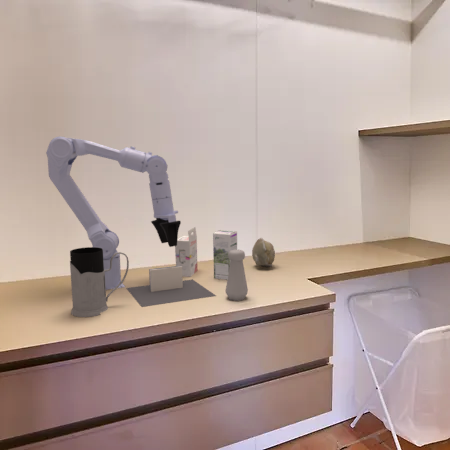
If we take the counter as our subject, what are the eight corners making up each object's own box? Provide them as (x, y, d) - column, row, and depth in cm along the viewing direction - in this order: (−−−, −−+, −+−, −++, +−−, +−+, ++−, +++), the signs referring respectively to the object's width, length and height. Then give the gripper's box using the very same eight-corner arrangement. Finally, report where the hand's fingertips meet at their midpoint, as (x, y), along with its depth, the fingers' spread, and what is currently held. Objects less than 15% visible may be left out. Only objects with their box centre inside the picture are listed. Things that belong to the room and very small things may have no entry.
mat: (141, 308, 110) (141, 306, 110) (126, 289, 126) (126, 288, 126) (216, 297, 118) (216, 295, 118) (192, 280, 134) (192, 279, 134)
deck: (151, 291, 122) (150, 270, 121) (149, 290, 123) (149, 269, 123) (182, 287, 126) (182, 266, 125) (180, 286, 127) (180, 265, 126)
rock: (262, 272, 143) (262, 241, 142) (244, 267, 150) (244, 238, 148) (282, 267, 150) (282, 237, 148) (263, 262, 156) (263, 234, 154)
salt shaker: (240, 304, 112) (240, 253, 110) (221, 300, 115) (220, 251, 113) (251, 298, 117) (251, 249, 115) (233, 294, 120) (232, 247, 118)
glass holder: (69, 308, 111) (65, 248, 109) (126, 300, 116) (124, 243, 114) (72, 319, 103) (68, 255, 101) (134, 310, 109) (131, 249, 106)
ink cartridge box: (183, 270, 146) (182, 226, 144) (197, 271, 145) (197, 226, 143) (175, 277, 138) (173, 230, 136) (190, 278, 137) (189, 230, 135)
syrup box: (238, 276, 138) (237, 230, 136) (230, 281, 133) (229, 233, 130) (221, 275, 140) (220, 229, 138) (213, 279, 135) (212, 232, 133)
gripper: (183, 196, 122) (190, 244, 124) (167, 194, 135) (174, 238, 138) (158, 200, 119) (166, 250, 122) (144, 198, 133) (152, 243, 135)
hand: (169, 244), depth 129 cm, fingers open, 7 cm apart
